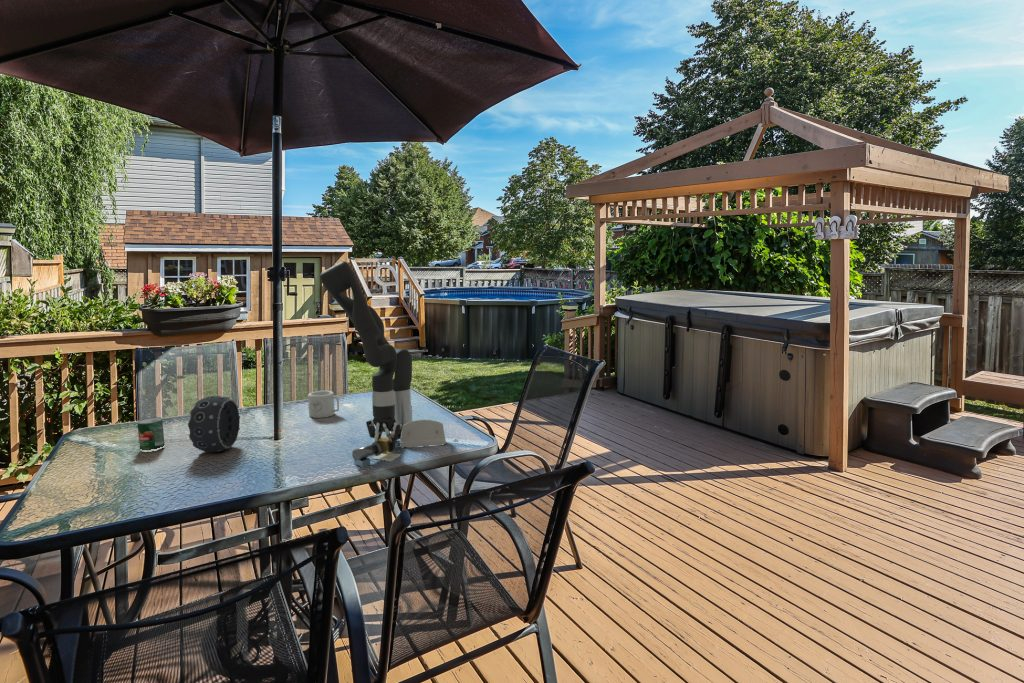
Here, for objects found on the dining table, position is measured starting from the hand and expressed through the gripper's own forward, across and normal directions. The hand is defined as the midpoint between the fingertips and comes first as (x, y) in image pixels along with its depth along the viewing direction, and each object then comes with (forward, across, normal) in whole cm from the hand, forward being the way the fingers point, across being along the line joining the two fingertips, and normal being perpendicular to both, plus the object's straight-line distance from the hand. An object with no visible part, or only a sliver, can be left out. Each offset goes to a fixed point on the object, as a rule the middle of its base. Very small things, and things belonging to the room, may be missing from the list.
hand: (385, 450), depth 205 cm
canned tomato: (+3, -86, -22) cm, 89 cm away
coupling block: (0, 0, 0) cm, 0 cm away
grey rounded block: (+3, +5, +17) cm, 18 cm away
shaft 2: (+2, -3, +8) cm, 9 cm away
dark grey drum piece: (+3, -62, -15) cm, 64 cm away
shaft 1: (+2, -3, -8) cm, 9 cm away
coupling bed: (+2, 0, 0) cm, 2 cm away
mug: (+3, -56, +37) cm, 67 cm away
